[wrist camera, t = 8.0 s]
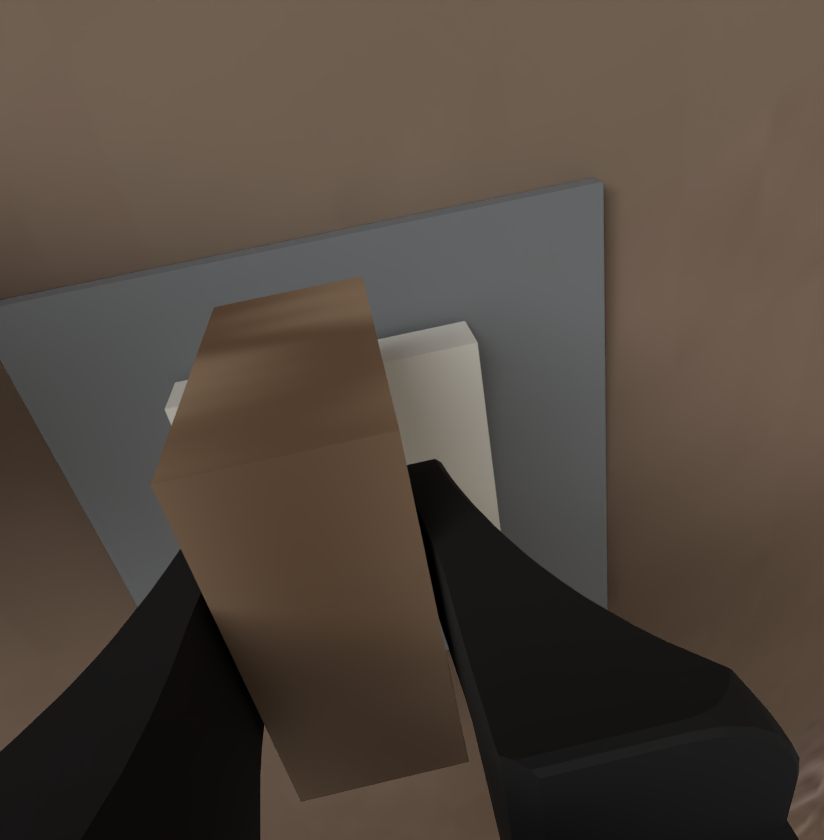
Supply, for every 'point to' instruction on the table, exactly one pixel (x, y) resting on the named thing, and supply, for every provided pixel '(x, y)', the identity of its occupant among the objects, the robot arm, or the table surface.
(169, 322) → the mat
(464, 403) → the tile
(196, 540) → the tan cardboard carton
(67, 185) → the table surface
